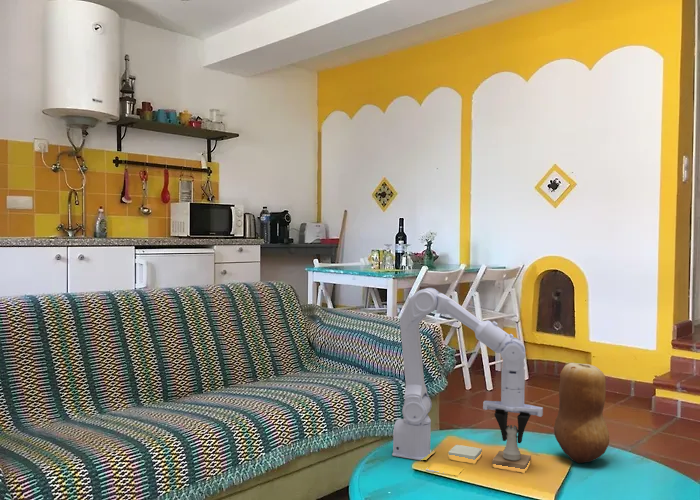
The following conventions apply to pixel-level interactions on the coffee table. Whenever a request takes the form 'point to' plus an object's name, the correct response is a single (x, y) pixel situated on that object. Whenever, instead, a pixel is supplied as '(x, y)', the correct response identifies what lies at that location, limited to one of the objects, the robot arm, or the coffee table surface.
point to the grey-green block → (465, 451)
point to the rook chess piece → (511, 444)
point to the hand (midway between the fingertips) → (512, 441)
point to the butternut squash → (582, 412)
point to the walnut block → (520, 463)
